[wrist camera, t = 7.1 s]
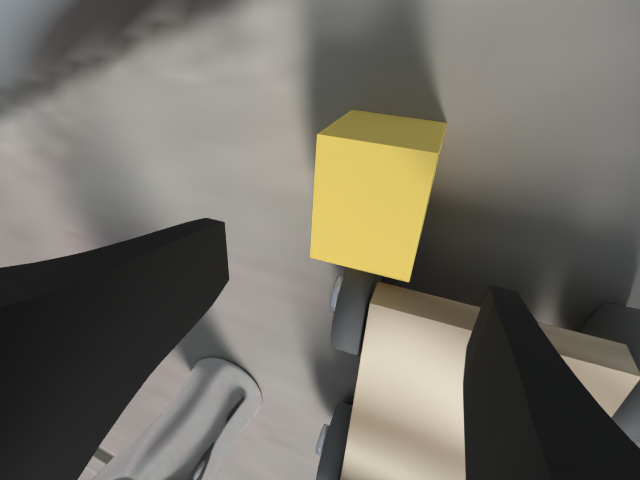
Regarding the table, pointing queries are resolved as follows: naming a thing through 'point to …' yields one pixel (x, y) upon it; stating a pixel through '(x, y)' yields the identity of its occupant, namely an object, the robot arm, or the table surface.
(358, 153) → the block
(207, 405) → the beer glass
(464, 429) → the robot arm
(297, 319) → the table surface
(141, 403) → the table surface
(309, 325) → the table surface
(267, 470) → the table surface
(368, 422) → the dolly
